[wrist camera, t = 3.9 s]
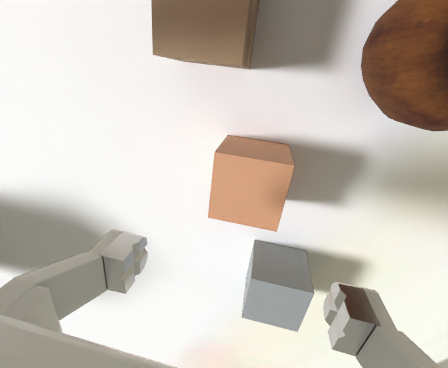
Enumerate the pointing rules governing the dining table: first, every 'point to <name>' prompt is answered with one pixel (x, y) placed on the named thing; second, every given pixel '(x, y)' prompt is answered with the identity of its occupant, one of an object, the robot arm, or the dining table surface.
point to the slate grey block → (277, 286)
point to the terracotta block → (250, 182)
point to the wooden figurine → (410, 63)
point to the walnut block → (205, 31)
